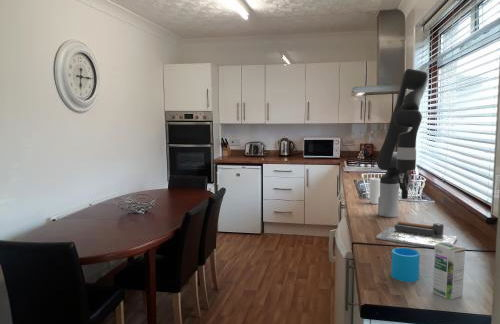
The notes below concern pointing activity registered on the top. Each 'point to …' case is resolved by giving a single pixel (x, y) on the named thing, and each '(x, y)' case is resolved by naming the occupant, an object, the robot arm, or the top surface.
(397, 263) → the mug
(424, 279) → the top surface
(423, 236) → the panel
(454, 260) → the syrup box
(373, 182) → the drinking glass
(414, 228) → the cable arm
